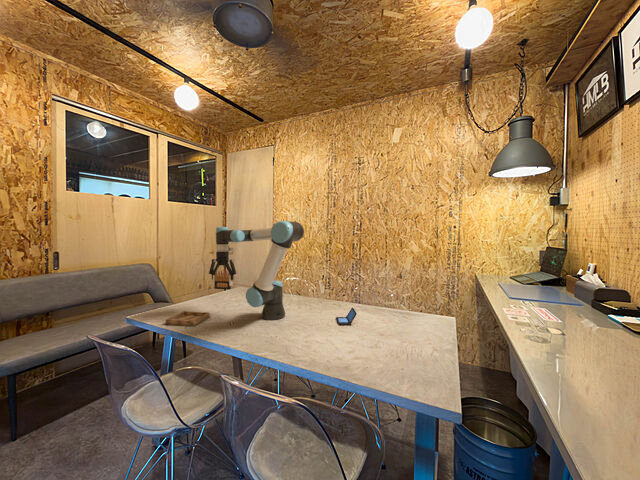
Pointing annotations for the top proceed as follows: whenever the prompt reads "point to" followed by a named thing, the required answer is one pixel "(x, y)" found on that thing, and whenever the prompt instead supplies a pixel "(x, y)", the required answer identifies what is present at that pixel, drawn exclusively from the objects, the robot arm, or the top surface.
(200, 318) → the tray
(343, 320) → the handheld game console
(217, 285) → the ammunition clip
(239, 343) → the top surface
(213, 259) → the robot arm
